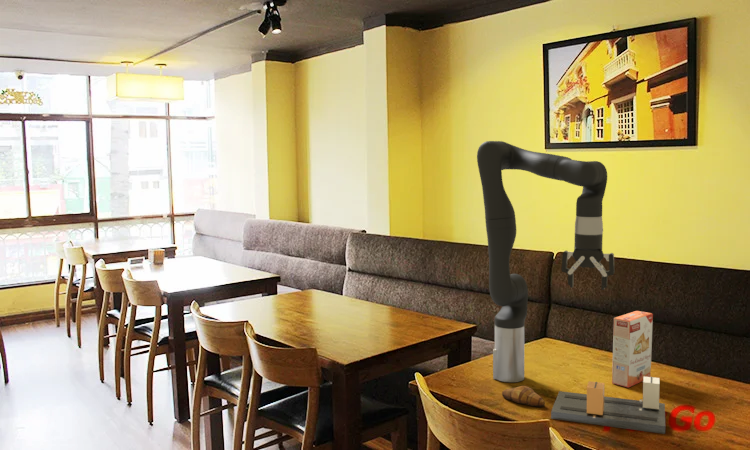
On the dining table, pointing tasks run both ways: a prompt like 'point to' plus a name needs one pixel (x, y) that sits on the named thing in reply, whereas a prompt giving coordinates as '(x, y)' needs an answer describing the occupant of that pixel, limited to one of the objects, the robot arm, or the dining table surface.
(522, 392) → the croissant
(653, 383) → the ivory fader
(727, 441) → the dining table surface
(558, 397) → the console
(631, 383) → the cracker box
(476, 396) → the dining table surface
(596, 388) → the orange block
